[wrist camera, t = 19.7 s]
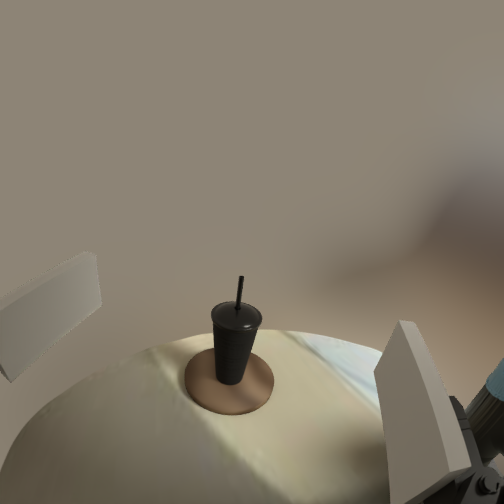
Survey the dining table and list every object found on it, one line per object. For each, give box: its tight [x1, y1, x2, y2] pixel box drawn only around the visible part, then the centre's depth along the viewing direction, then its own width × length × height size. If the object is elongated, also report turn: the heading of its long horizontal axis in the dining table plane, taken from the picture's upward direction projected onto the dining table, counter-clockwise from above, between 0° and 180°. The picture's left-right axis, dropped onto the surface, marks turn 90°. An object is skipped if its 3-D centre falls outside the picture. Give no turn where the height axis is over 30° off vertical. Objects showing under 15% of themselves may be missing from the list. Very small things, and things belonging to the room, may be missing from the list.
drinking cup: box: [211, 276, 262, 385], centre depth 41 cm, size 8×8×20 cm
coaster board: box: [185, 348, 274, 415], centre depth 45 cm, size 16×16×2 cm
